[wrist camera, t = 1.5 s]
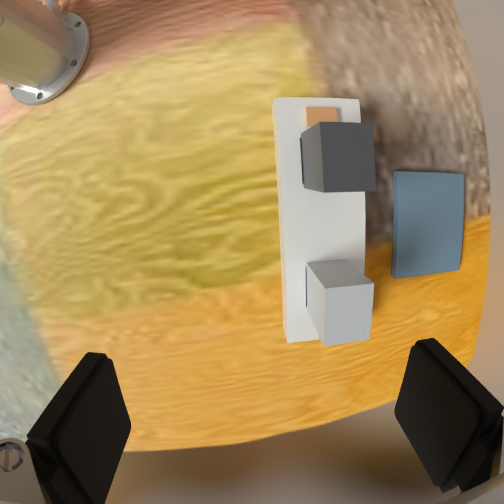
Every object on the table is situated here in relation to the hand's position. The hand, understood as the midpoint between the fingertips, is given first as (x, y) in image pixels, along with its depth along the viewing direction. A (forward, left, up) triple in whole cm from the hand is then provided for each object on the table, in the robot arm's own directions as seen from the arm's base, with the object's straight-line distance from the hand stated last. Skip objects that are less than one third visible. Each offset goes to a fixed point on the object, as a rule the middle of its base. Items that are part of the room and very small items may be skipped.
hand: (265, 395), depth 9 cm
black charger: (-7, +7, -22) cm, 25 cm away
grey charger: (+5, +7, -22) cm, 24 cm away
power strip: (-1, +7, -25) cm, 26 cm away
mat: (0, +21, -25) cm, 32 cm away
